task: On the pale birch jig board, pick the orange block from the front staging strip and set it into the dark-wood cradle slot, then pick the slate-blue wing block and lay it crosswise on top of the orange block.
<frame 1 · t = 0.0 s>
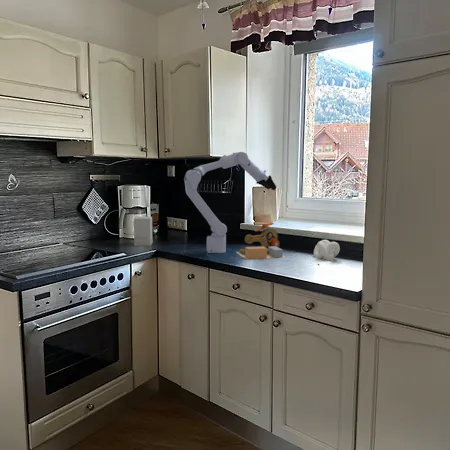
hand: (272, 188, 213), 32 cm above the worktop, tool tilted 50°, fingers open, 7 cm apart
toy helicopter: (262, 248, 225), on the worktop
supplement box: (143, 244, 232), on the worktop
jig: (260, 256, 204), on the worktop
orange block: (255, 257, 198), point 1 cm above the worktop, touching jig
wing: (275, 255, 203), point 1 cm above the worktop, touching jig
pretzel: (324, 259, 200), on the worktop
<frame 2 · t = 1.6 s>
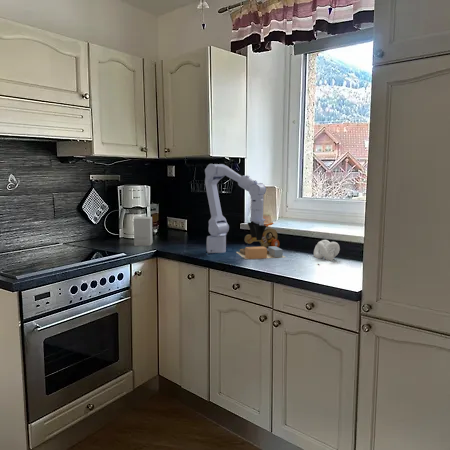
hand: (256, 238, 197), 10 cm above the worktop, tool pointing down, fingers open, 7 cm apart
nothing on the worktop moved.
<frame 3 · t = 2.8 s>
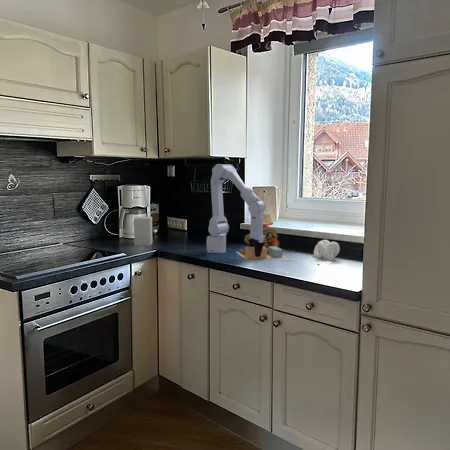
hand: (255, 255, 198), 2 cm above the worktop, tool pointing down, fingers closed on orange block, 5 cm apart
orange block: (255, 257, 198), point 1 cm above the worktop, touching gripper, jig
everything else where it was.
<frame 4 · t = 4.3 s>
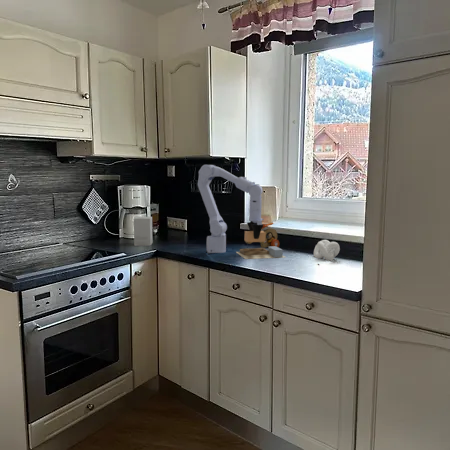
hand: (254, 237, 205), 9 cm above the worktop, tool pointing down, fingers closed on orange block, 5 cm apart
orange block: (254, 241, 205), point 7 cm above the worktop, touching gripper
everything else where it was.
when the fingers open (4 cm above the worktop, at t = 5.9 s): orange block stays where it is, resting on jig.
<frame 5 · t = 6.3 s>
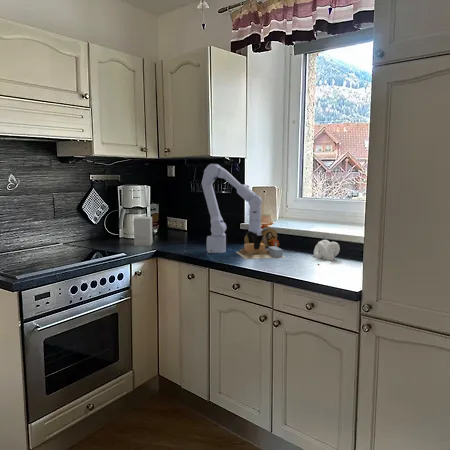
hand: (254, 247, 207), 4 cm above the worktop, tool pointing down, fingers open, 7 cm apart
orange block: (254, 253, 208), point 1 cm above the worktop, touching jig
everything else where it was.
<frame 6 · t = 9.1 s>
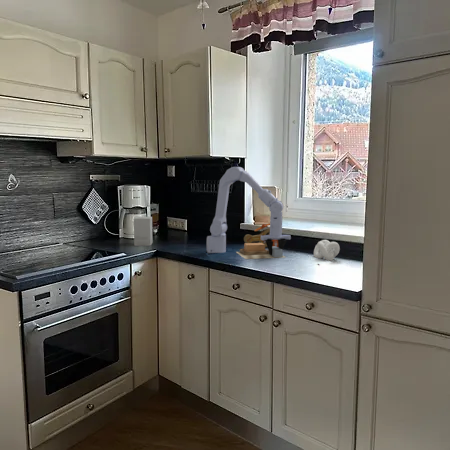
hand: (275, 254, 203), 1 cm above the worktop, tool pointing down, fingers closed on wing, 4 cm apart
wing: (275, 255, 203), point 1 cm above the worktop, touching gripper, jig
everything else where it was.
when the fingers open (7 cm above the worktop, at t = 11.6 s): wing stays where it is, resting on orange block.
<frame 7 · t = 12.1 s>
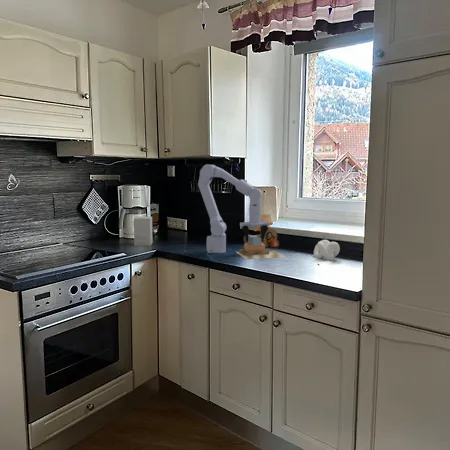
hand: (254, 241, 207), 7 cm above the worktop, tool pointing down, fingers open, 7 cm apart
orange block: (254, 253, 208), point 1 cm above the worktop, touching jig, wing
wing: (254, 244, 207), point 5 cm above the worktop, touching orange block
everything else where it was.
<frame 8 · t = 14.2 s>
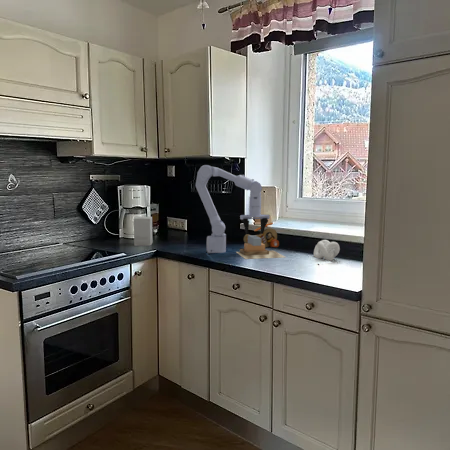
hand: (254, 233, 209), 10 cm above the worktop, tool pointing down, fingers open, 7 cm apart
nothing on the worktop moved.
at the end: orange block 0.1 cm from the target spot, point 1.0 cm above the worktop; wing 0.1 cm off-centre on the orange block, point 4.5 cm above the orange block's base; wing tilted 0° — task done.
